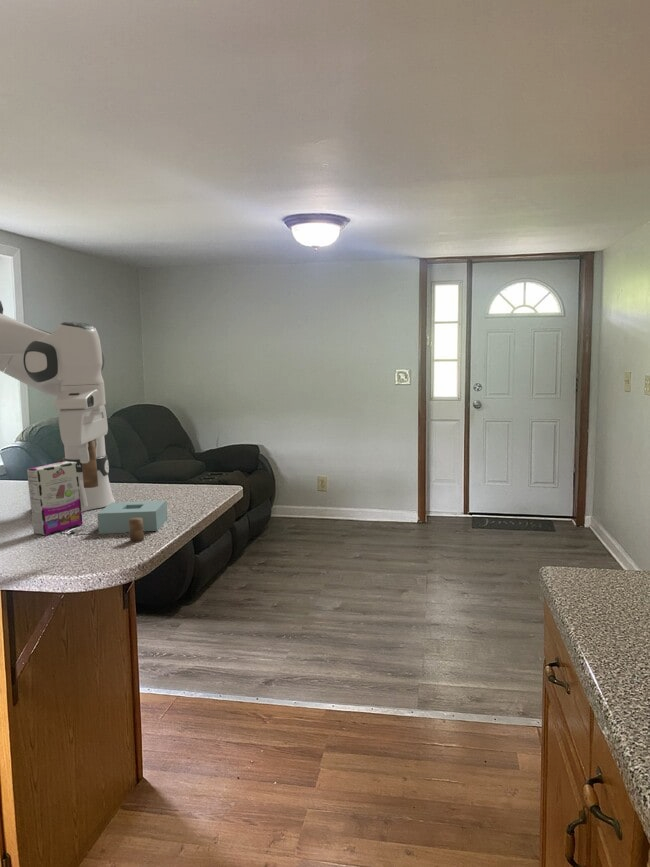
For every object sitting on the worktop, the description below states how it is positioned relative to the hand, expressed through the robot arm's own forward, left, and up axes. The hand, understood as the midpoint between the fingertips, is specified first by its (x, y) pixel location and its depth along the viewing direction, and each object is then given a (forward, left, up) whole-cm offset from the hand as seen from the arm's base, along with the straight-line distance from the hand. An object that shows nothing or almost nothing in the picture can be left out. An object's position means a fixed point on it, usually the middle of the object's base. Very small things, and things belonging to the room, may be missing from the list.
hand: (88, 461), depth 143 cm
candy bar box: (-15, +19, -20) cm, 31 cm away
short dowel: (+8, +6, -20) cm, 22 cm away
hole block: (+4, +19, -20) cm, 28 cm away
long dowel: (0, 0, -6) cm, 6 cm away
